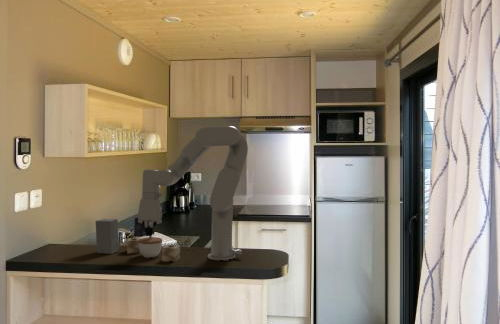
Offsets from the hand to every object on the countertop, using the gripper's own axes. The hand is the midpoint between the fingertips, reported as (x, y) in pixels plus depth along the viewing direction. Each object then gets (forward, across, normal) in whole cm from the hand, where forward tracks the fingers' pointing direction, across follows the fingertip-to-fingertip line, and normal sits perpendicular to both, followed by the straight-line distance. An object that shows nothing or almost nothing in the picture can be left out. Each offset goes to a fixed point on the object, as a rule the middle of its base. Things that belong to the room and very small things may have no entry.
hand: (149, 235), depth 190 cm
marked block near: (+9, -12, +6) cm, 16 cm away
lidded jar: (+10, -1, 0) cm, 10 cm away
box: (+10, +16, -51) cm, 54 cm away
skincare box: (+10, +21, -5) cm, 24 cm away
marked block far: (+10, +9, -8) cm, 16 cm away
